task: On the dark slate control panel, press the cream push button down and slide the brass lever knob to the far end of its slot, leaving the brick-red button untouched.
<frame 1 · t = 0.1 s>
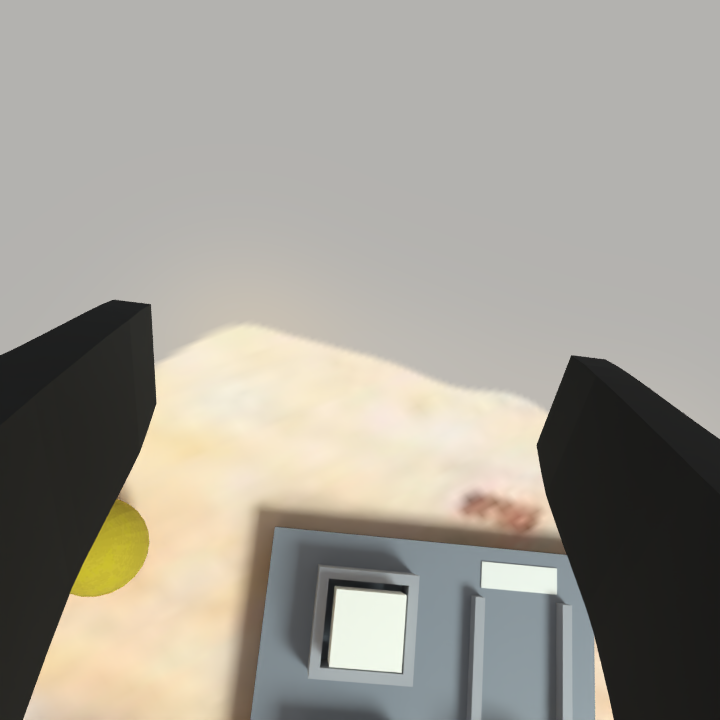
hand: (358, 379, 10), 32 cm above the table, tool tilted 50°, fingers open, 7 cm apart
panel: (421, 688, 38), on the table
lemon: (117, 543, 39), on the table
cream button: (366, 627, 34), point 5 cm above the table, slide at 0.0 cm
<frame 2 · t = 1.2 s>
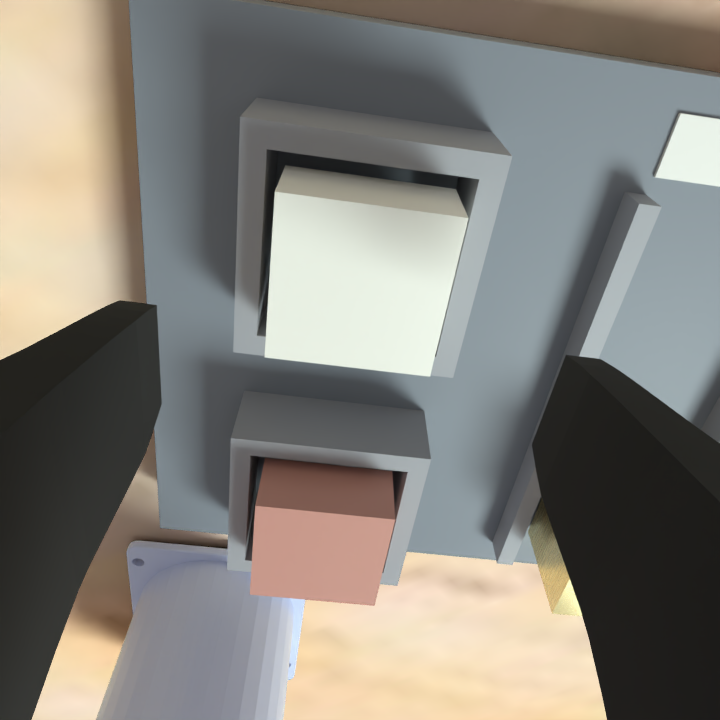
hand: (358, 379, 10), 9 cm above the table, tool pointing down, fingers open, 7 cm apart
panel: (472, 334, 21), on the table
slider knob: (613, 537, 21), point 4 cm above the table, slide at 0.0 cm
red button: (320, 533, 19), point 5 cm above the table, slide at 0.0 cm
cream button: (359, 273, 14), point 5 cm above the table, slide at 0.0 cm
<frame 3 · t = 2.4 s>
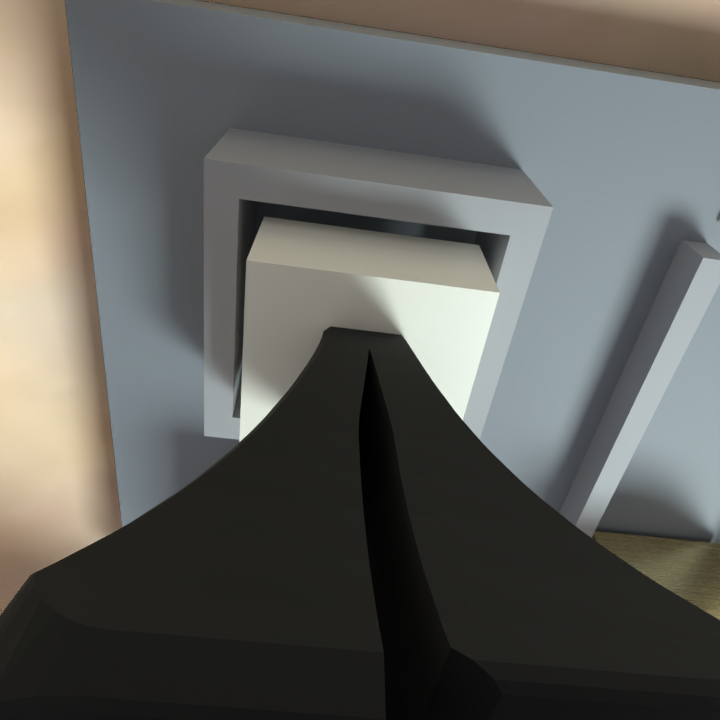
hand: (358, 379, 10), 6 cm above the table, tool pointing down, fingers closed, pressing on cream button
panel: (490, 393, 18), on the table
slider knob: (653, 630, 18), point 4 cm above the table, slide at 0.0 cm
cream button: (358, 351, 11), point 5 cm above the table, slide at 0.0 cm, touching gripper
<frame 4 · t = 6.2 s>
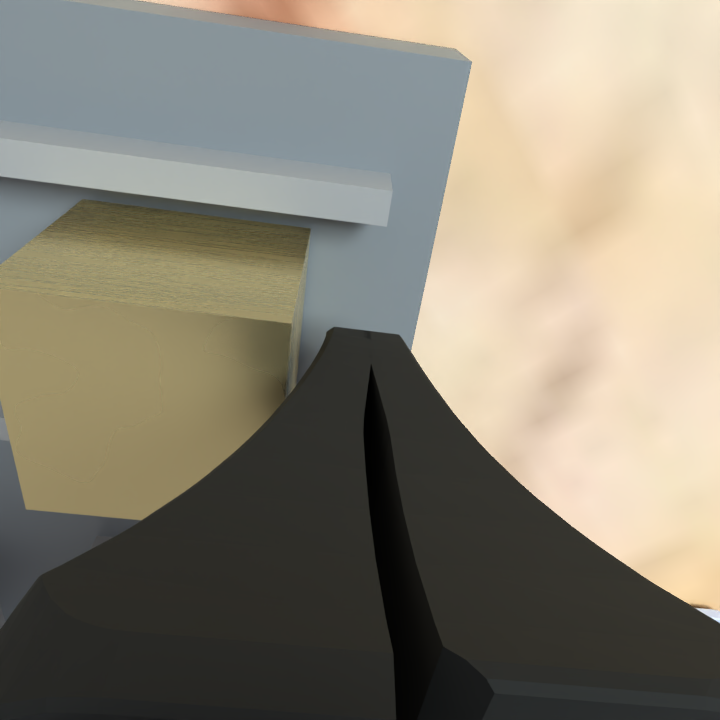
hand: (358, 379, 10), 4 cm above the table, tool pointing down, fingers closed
panel: (42, 432, 16), on the table
slider knob: (175, 361, 10), point 4 cm above the table, slide at 0.3 cm, touching gripper
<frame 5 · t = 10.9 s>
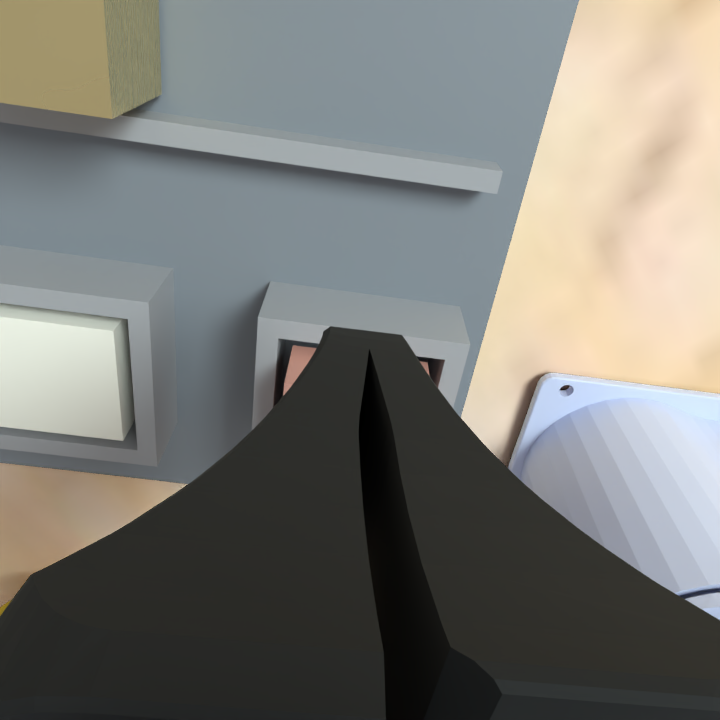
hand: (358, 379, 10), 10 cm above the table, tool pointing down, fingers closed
panel: (220, 205, 19), on the table
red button: (350, 428, 18), point 5 cm above the table, slide at 0.0 cm
cream button: (64, 363, 19), point 3 cm above the table, slide at 1.5 cm
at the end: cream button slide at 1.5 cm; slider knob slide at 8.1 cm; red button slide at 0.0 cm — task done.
